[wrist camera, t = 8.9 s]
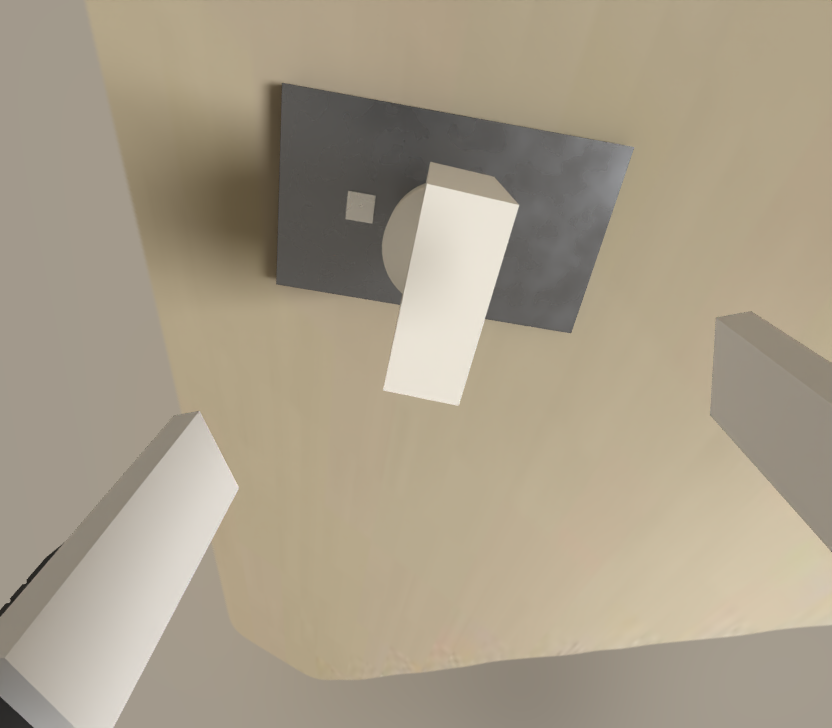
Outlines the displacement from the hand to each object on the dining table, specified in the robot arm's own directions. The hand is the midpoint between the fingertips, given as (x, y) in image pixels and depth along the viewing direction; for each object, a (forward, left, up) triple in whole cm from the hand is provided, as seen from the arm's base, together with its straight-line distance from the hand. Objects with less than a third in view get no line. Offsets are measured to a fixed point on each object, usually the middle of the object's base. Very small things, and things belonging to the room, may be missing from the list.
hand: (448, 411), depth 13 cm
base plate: (0, 0, -28) cm, 28 cm away
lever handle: (+1, 0, -20) cm, 20 cm away
